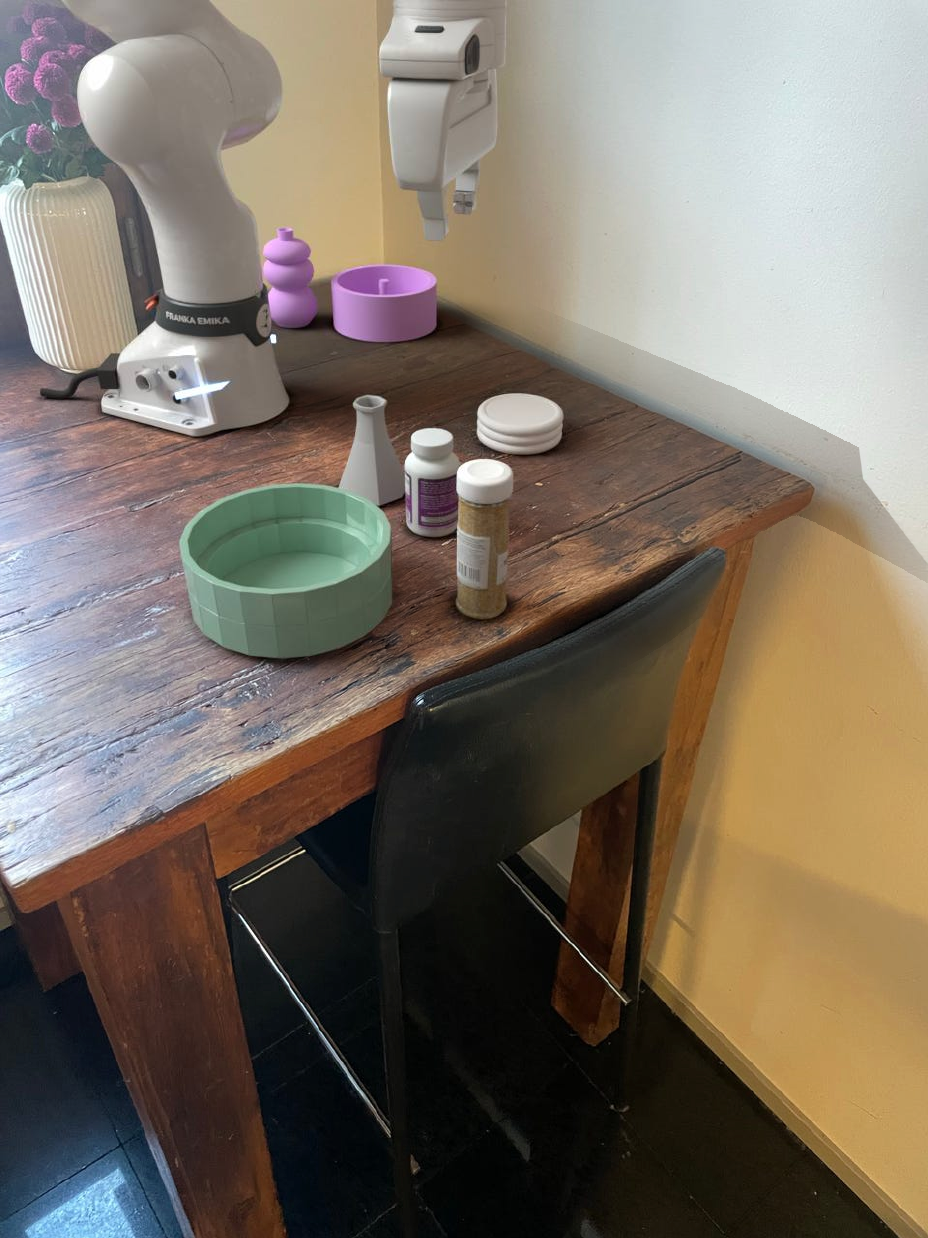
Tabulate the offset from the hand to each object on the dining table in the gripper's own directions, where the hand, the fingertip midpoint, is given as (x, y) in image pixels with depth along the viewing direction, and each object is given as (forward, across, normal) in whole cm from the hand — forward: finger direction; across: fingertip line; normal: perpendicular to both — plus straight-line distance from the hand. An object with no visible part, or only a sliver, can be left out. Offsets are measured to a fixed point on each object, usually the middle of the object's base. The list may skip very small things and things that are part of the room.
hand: (451, 225), depth 82 cm
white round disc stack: (+27, -16, +4) cm, 32 cm away
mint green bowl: (+27, +22, -9) cm, 36 cm away
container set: (+26, -46, -28) cm, 60 cm away
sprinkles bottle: (+27, +18, +7) cm, 34 cm away
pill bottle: (+27, +6, 0) cm, 28 cm away
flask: (+27, +1, -8) cm, 28 cm away
